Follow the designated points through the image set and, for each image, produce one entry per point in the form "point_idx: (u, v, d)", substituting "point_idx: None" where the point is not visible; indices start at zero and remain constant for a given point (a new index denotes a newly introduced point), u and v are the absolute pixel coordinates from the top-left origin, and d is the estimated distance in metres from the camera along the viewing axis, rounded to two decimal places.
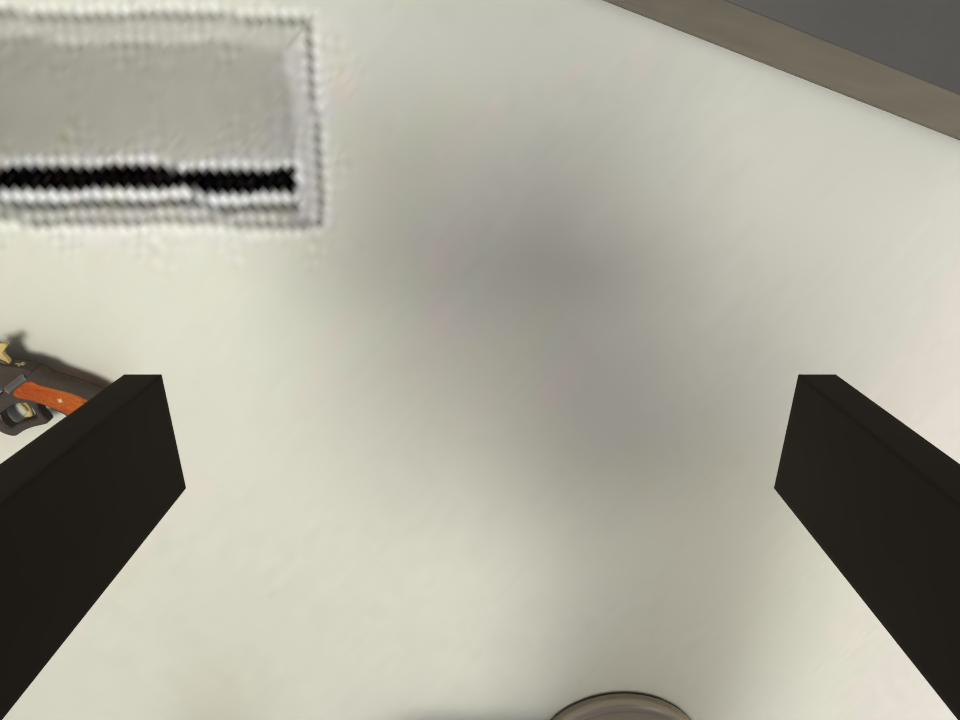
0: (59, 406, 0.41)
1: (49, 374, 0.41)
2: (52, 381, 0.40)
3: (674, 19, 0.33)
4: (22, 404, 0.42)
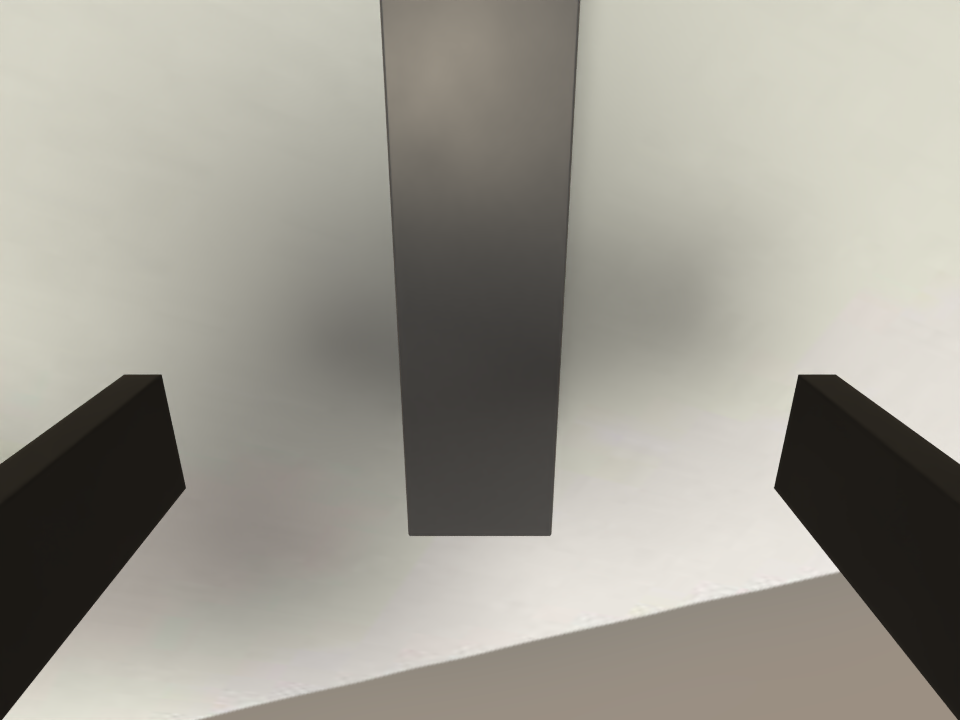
0: None
1: None
2: None
3: None
4: None
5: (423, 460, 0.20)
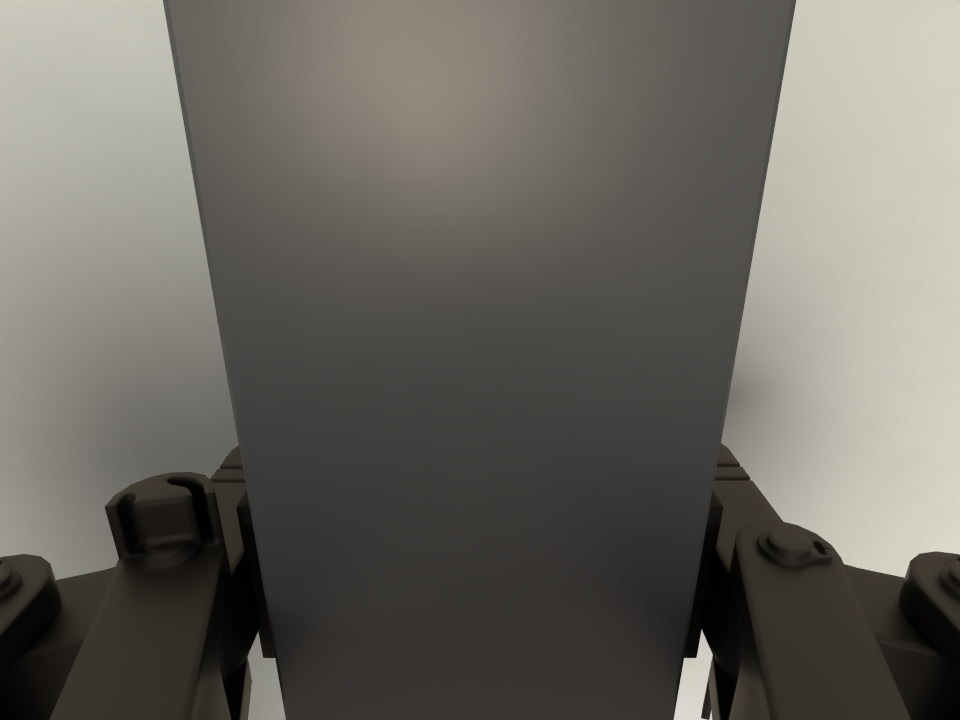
0: None
1: None
2: None
3: None
4: None
5: None
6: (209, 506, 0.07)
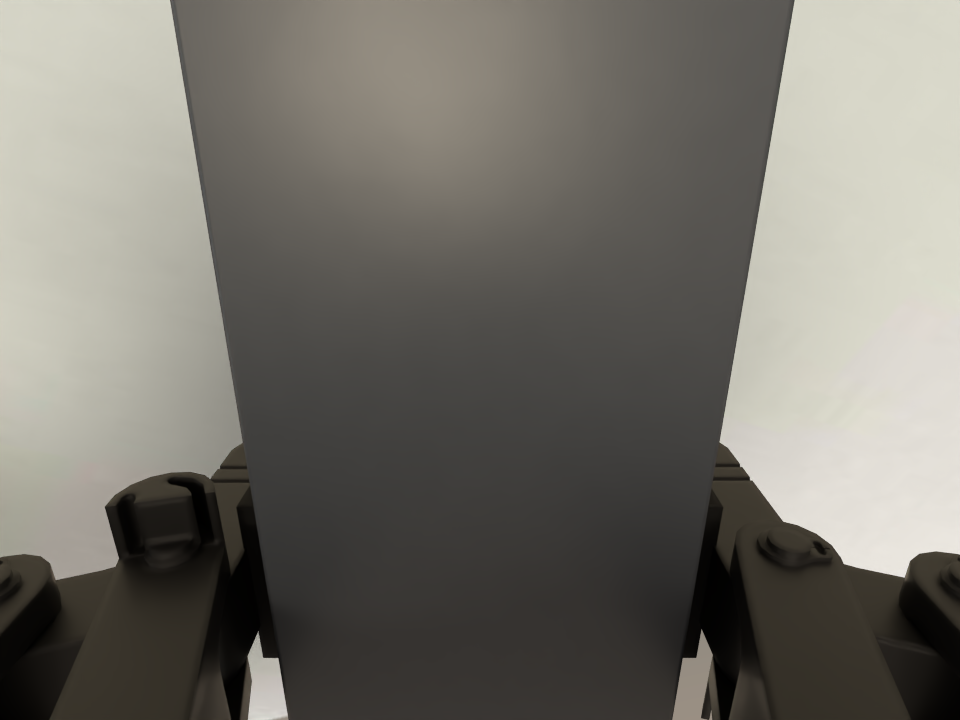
0: None
1: None
2: None
3: None
4: None
5: None
6: (209, 506, 0.07)
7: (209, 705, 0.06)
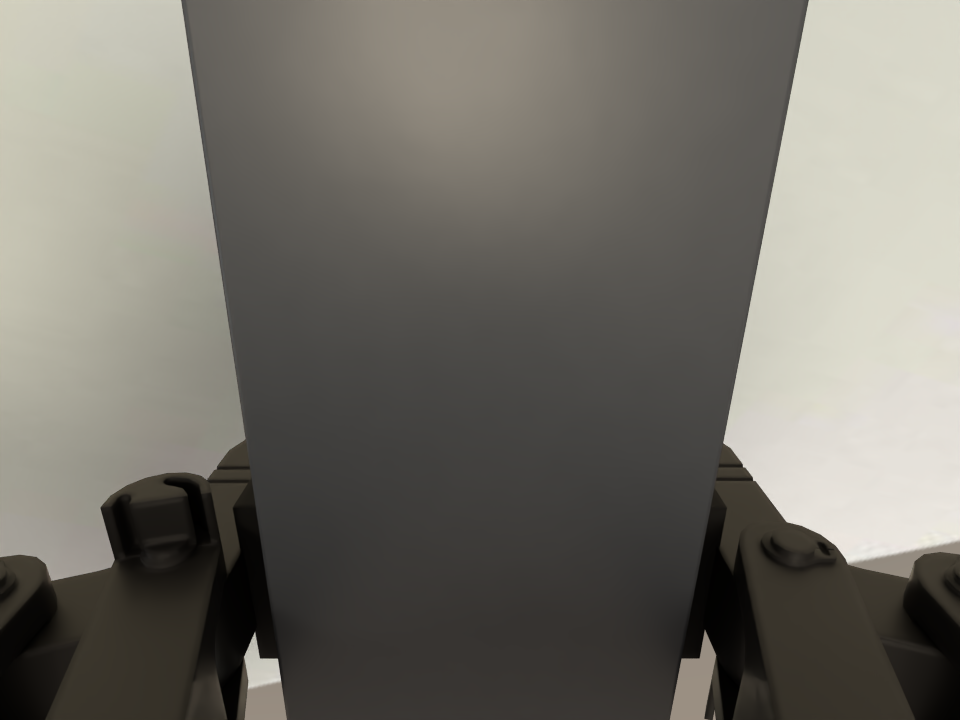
0: None
1: None
2: None
3: None
4: None
5: None
6: (204, 507, 0.07)
7: (205, 706, 0.06)
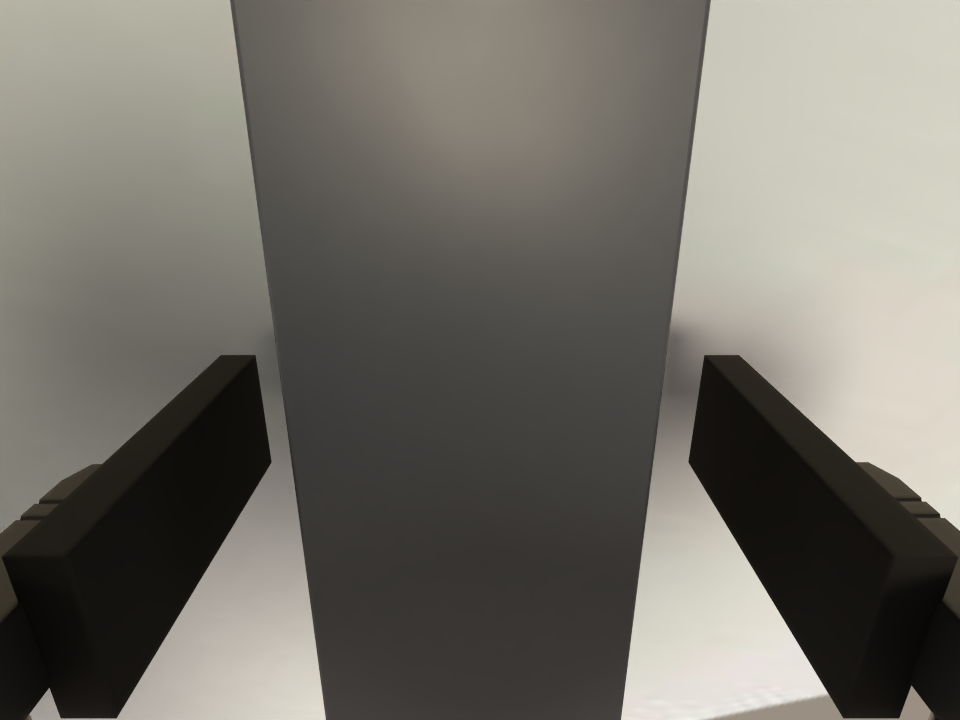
0: None
1: None
2: None
3: None
4: None
5: None
6: None
7: None
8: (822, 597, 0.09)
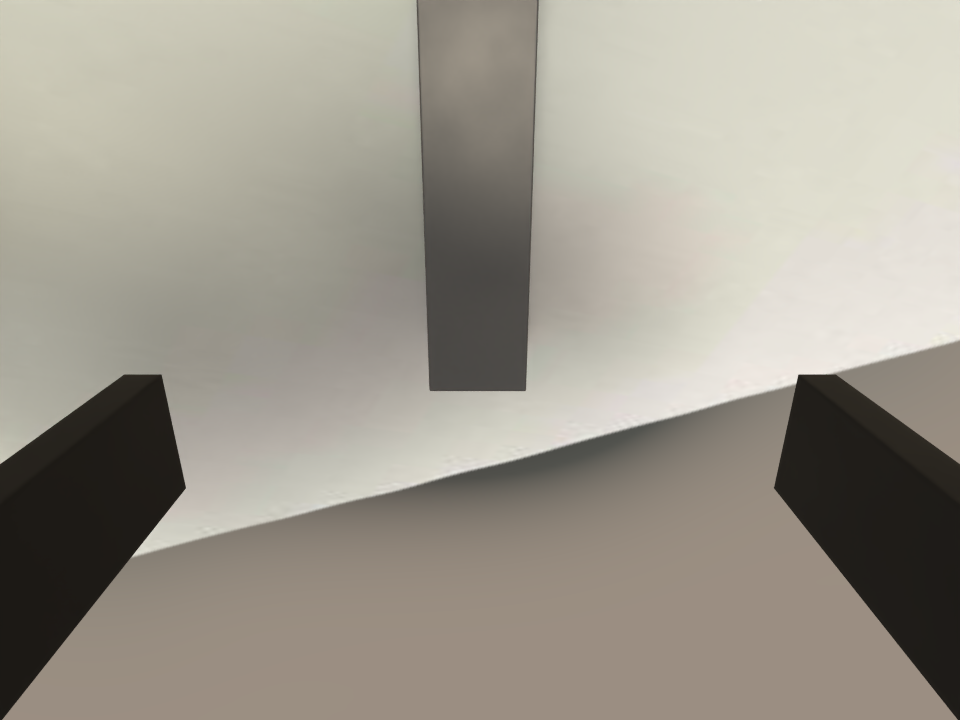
0: None
1: None
2: None
3: None
4: None
5: (440, 335, 0.30)
6: None
7: None
8: None
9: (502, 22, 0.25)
